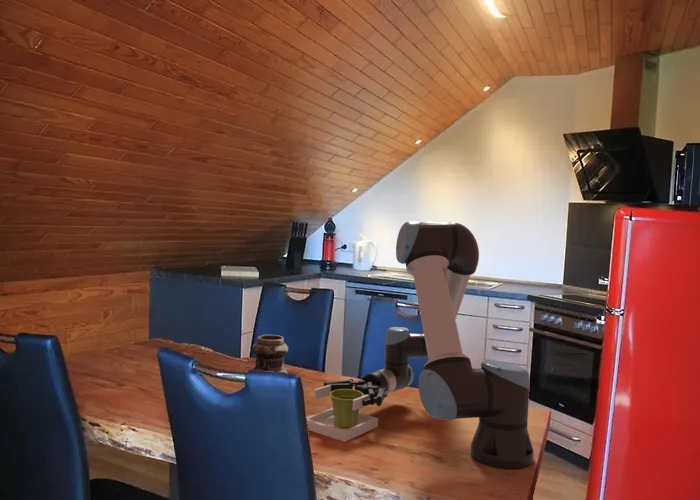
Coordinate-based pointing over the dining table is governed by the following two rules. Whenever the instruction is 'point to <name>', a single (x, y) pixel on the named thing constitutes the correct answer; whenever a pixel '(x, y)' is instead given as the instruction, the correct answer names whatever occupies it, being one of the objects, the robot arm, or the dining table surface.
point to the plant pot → (345, 407)
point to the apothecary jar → (270, 353)
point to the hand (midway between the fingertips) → (333, 399)
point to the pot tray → (327, 427)
